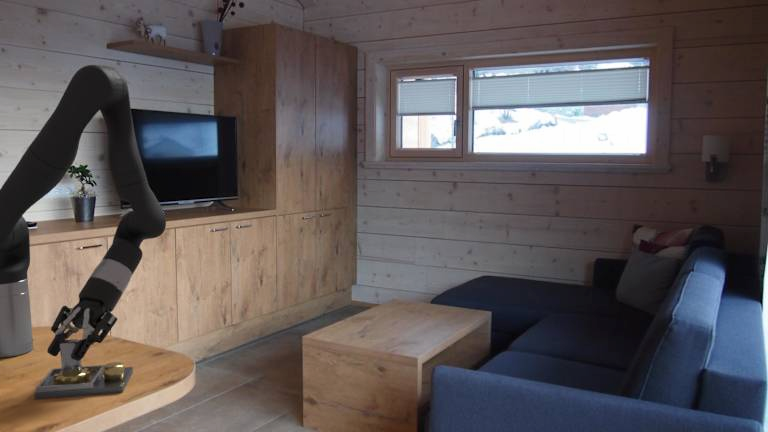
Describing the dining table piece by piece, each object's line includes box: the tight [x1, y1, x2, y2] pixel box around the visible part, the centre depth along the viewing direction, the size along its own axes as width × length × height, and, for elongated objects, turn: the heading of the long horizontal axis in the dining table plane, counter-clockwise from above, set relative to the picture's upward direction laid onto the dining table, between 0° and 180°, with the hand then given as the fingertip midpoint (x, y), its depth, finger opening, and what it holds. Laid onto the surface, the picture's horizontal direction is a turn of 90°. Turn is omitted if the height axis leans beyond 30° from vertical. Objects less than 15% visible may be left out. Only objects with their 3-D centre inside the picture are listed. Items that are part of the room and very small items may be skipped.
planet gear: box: [54, 338, 91, 385], centre depth 132 cm, size 7×7×8 cm
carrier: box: [34, 361, 134, 400], centre depth 132 cm, size 16×11×4 cm
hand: (63, 356), depth 130 cm, fingers open, 6 cm apart
